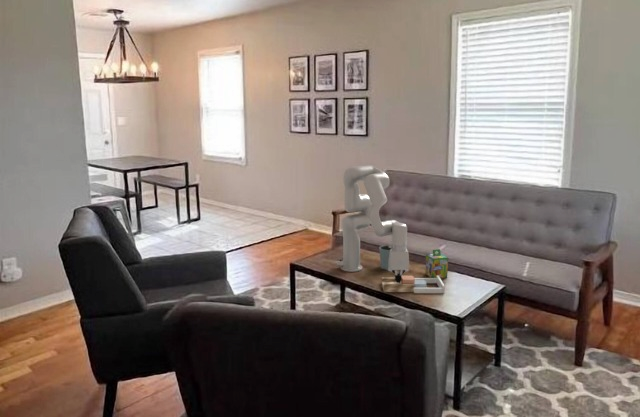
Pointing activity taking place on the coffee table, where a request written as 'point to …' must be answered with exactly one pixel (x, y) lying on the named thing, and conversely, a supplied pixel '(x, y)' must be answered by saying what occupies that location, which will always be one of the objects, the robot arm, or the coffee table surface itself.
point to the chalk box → (436, 265)
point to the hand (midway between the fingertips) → (398, 281)
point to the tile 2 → (420, 284)
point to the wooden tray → (395, 285)
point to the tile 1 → (407, 280)
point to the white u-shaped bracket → (431, 290)
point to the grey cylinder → (384, 256)
